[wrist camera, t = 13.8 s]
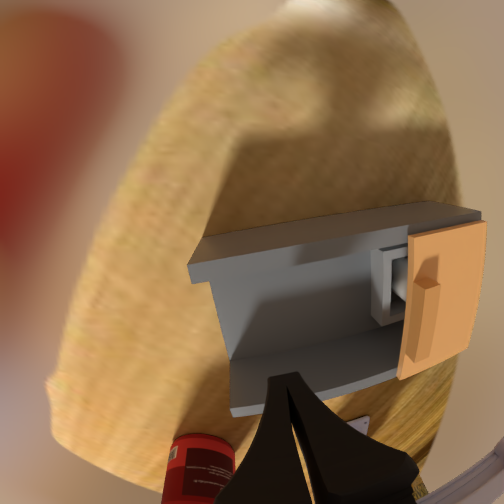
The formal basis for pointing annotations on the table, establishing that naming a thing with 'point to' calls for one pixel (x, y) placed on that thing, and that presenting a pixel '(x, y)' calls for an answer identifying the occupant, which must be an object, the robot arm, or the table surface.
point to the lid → (441, 294)
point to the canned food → (197, 469)
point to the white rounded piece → (399, 277)
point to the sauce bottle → (419, 488)
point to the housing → (314, 297)
